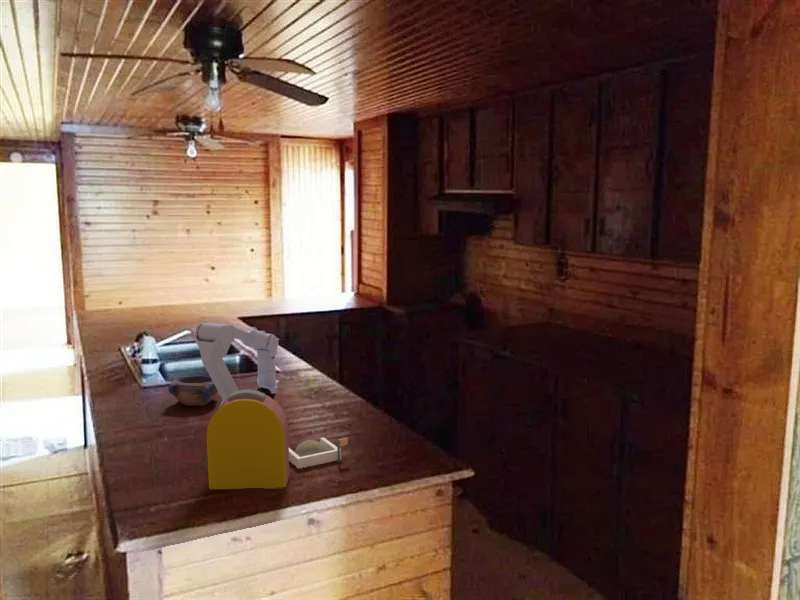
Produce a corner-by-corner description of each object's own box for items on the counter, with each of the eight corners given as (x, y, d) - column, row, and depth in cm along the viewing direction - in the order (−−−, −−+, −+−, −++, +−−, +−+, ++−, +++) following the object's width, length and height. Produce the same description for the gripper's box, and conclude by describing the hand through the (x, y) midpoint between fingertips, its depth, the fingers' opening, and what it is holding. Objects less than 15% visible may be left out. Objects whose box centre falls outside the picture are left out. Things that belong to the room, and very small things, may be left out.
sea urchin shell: (297, 459, 200) (294, 434, 205) (296, 470, 206) (293, 446, 211) (328, 456, 203) (324, 431, 207) (325, 466, 209) (322, 443, 213)
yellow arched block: (289, 474, 194) (287, 385, 190) (285, 488, 185) (282, 395, 181) (216, 475, 193) (212, 386, 189) (208, 489, 184) (203, 396, 180)
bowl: (227, 396, 270) (226, 372, 268) (210, 410, 252) (209, 384, 251) (184, 395, 272) (183, 371, 270) (164, 409, 254) (163, 383, 252)
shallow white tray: (300, 471, 196) (300, 448, 195) (282, 454, 209) (281, 433, 208) (348, 460, 204) (348, 438, 203) (328, 445, 216) (327, 424, 215)
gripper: (286, 372, 217) (287, 413, 219) (270, 363, 230) (271, 401, 232) (265, 375, 214) (266, 416, 216) (250, 365, 226) (251, 404, 228)
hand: (267, 409), depth 223 cm, fingers closed
